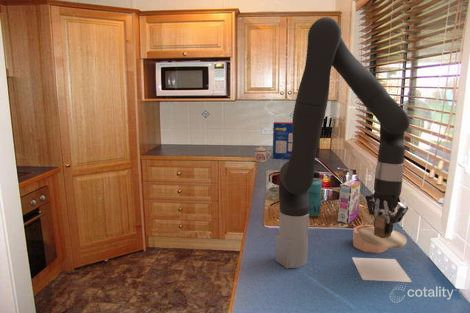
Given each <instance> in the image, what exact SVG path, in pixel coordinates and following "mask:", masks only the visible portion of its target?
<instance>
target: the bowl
mask: <svg viewBox="0 0 470 313" xmlns="http://www.w3.org/2000/svg"><path fill="white" fill-rule="evenodd" d="M364 227H374V225H369V224H360V225H357V226H353V235H352V246H353V247H354V248H355V249H357V250H359V251H362V252H365V253H372V254H373V253H374V254H381V253H383V252H387V251H388V249H389V248H384V247H378V246H374V245H371V244H369V243H366V242H364V241H363V240H362V239H360V237H359V230H360V229H362V228H364Z"/></svg>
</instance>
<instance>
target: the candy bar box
mask: <svg viewBox="0 0 470 313" xmlns="http://www.w3.org/2000/svg"><path fill="white" fill-rule="evenodd" d="M361 182H362V181H359V180H354V179H349V180H347V181H345V182H343V183H340V184H339V197H338V207H337V208H338V209H337V210H338V211H337V221H336V222H339V223H343V224H346V225H349V223H351V222H353V221H354V220H355V219H357V218H358V216H359V205H360V204H359V203H360V195H361V194H360V192H361V184H362V183H361Z"/></svg>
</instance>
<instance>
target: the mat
mask: <svg viewBox="0 0 470 313" xmlns="http://www.w3.org/2000/svg"><path fill="white" fill-rule="evenodd" d="M351 259H352V261H353V263H354V265H355V267H356V269H357V271H358V273H359V276H360V277H361V279H362V281H379V282H397V283H398V282H401V283H402V282H403V283H413V282H412V279H411V278H410V277H409V275H408V274H407V273H406V271H405V270H404V269H403V268H402V266H401V265H400V264H399V262H398V261H397V259H395V258H376V257H375V258H374V257H372V258H371V257H351Z"/></svg>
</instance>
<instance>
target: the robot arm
mask: <svg viewBox="0 0 470 313" xmlns="http://www.w3.org/2000/svg"><path fill="white" fill-rule="evenodd" d="M306 48H307V50H306V59H305V65H304V70H303V73H302V75H301V76H302V77H301V78H300V82H299V86H298V90H297V94H296V97H295V103H294V108H293V113H292V137H293V143H292V151H291V156H290V159H288V161H286V162H285V163H283V165H282V166H281V168H280V170H279V178H278V180H279V181H278V189H279V190H278V195H279V196H278V203H279V225H278V227H279V229H278V233H277V234H276V241H275V262H276V263H278V264H280V265H281V266H283V267H284V268H285V269H287V270H288V269H298V268H300V267H304V266H306V265H307V264H308V247H309V246H308V245H309V223H310V222H309V221H310V215H309V201H308V190H309V189H310V187H311V185H312V183H313V179H314V178H313V177H314V172H315V166H316V165H315V164H316V156H317V150H318V146H319V142H320V139H321V134H322V131H323V130H322V129H323V125H324V121H325V117H326V113H327V106H328V102H329V95H330V80H331V71H332V67H333V69H335V70H336V72H337V73H339V75H340V76H341V78H342V79H343V80H344V82H345V83H346V84H347V86H348V87H349V88H350V89H351V91H352V92H353V93H354V95H355V96H356V97H357V98H358V99H359V100H360V102H361V103H362V104H363V106H365V107H366V109H368V110H369V111H370V112H371V113H372V114H373V115H374V117H375V118H376V120H377V121H378V123H379V146H378V151H377V152H378V154H377V161H376V167H375V172H374V185H373V191H374V192H373V194H368V195H365V201H366V205H367V208H368V214H369V215H371V216H373V218H374V220H373V226H374V228H375V218H376V216H378V215H382V214H385V215H386V222H387V223H386V224H385V234H386V235H389V234H391V233H392V232H393V230H394V224H397V223H401V221H402V219H403V218H404V217H405V215H406V213H407V212H408V210H409V207H408V206H407V205H404V204H403V203H401V198H400V195H401V194H402V186H403V178H404V161H405V152H406V151H405V150H406V149H405V147H406V146H405V143H404V140H405V132H406V131H407V130H408V129H409V127H410V125H411V124H410V123H411V120H410V117H409V114H408V113H407V112H406V111H405V110H404V109H403V107H401V105H400V104H399V103H397V101H396V100H395V99H394V98H393V97H392V96H391V95H390V94H389V93H388V91H387V90H386V88H385V87H384V86H383V85H382V84H381V82H380V80H378V79H377V77H376V76H375V75H374V74H373V73H372V72H371V71H370V70H369V69H367V67H365V66H364V65H363V64H362V63H361V62H360V61H359V60H358V59H357V58H356V57H355V56H354V55H353V53H352V52H351V51H350V49H349V48H348V47H347V44H346V43H345V41H344V39H343V38H342V28H341V26H340V25H339V23H338V22H337V21H336V20H335V19H333V18H332V17H329V16H324V17H320V18H318V19H317V20H316V21H314V22H313V23H312V24H311V26H310V27H309V29H308V33H307V46H306Z"/></svg>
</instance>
